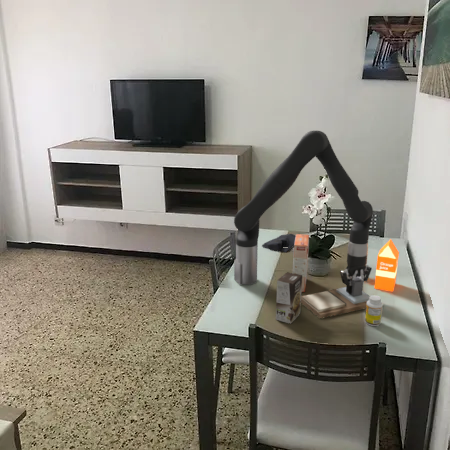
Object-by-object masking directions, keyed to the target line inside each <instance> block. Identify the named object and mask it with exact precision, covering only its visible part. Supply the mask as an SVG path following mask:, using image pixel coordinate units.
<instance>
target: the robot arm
mask: <svg viewBox="0 0 450 450" xmlns="http://www.w3.org/2000/svg"><path fill="white" fill-rule="evenodd" d="M314 158H316V159H317V160H318V161H319V162H320V164H321V165H322V167H323V168H324V170H325V172H326V174H327V176H328V179H329V181H330V183H331V185H332V187H333V189H334V190H335V192H336V193H337V195H338V196H339V198H340V199H341V201H342V203H343V205H344V208H345V211H346V213H347V214H348V217H349V218H350V219H351V220H352V221H353V224H352V226H351V227H350V231H349V239H348V240H349V241H348V245H347V253H346V254H347V255H346V256H347V257H346V264H347V266H346V268H345V269H344V270H340V271H339V274H340V278H341V282H342V284H344V285H347V287H346V286H345V287H346V291H347V293H349V294H352V284H353V281H354V280H355V277H357V278H359V279H360V280H362V281H363V284H364V283H365V282H367V281H368V280H369V277H370V275H371V272H372V270H373V269H372V267H371V266H369V265H367V263H368V255H369V254H368V253H369V235H370V233H369V232H370V227H371V224H372V219H373V214H374V209H373V206H372V204H371V203H370V202H369V201H366V200H361V199H360V197H359V189H358V187H357V186H356V185H355V182H354V181H353V180H352V178H351V177H350V175H349V174H348V172H347V171H346V169H345V168H344V167H343V165H342V164H341V162H340V161H339V158H338V157H337V155H336V153H335V151H334V149H333V146H332V144H331V142H330V140H329V138H328V136H327V134H326V133H325V132H324V131H321V130H310V131H307V132H306V133H305V134H304V135H303V136H302V137H301V138H300V140H299V142H298V143H297V144H296V146H295V147H294V148H293V150H292V151H291V153H290V154H289V155H288V156H287V157H286V158H285V159H284V160H283V161H282V162H281V163H280V164H279V165H278V166H277V167H276V168H275V169H274V170H273V172H272V173H270V174H269V176H268V177H267V178H266V179H265V180H264V182H263V183H262V185H261V186H260V187H259V189H258V190H257V192H256V193H255V195H254V196H253V197H252V199H250V201H249V202H248V203H247V204H246V205H244V206H243V207H241V208H240V209H239V210H238V211H237V212H236V214H235V215H234V219H233V220H234V221H233V224H234V226H235V228H236V229H237V234H236V238H235V259H234V261H233V264H234V270H233V271H234V272H233V273H234V275H233V276H234V278H233V280H234V281H235V282H236V283H237V284H239V285H243V286H245V285H247V286H248V285H254V284H256V283H257V282H258V241H259V236H260V219H261V217H262V216H263V215H264V214H265V212H267V210H269V208H271V207H272V206H273V205H275V203H276V202H278V201H279V200H280V199H281V198H282V197H283V196H284V195H285V194H286V193H287V192H288V191H289V190H290V188H291V187H292V186H293V185H294V183H295V182H296V180H297V179H298V177H299V176H300V174H301V173H302V171H303V169H304V168H305V167H306V166H307V164H309V163H310V162H311V161H312V160H313V159H314ZM347 273H348V275H347ZM349 281H350V282H349Z"/></svg>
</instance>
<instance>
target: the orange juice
mask: <svg viewBox="0 0 450 450" xmlns="http://www.w3.org/2000/svg"><path fill="white" fill-rule="evenodd" d="M399 254H400V251H399V250H398V249H397V247H396V245H395V244H394V242H393V240H392V239H391V238H390V239H389V240H388V241H387V242H386V243H385V244H384V245H383V246H382V247H381V248H380V249H379V251H378V254H377V260H376V268H375V269H376V270H375V279H374V289H376V290H381V291H387V292H394V289H395V286H396V280H397V272H398V264H399V263H398V262H399Z"/></svg>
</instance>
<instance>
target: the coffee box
mask: <svg viewBox="0 0 450 450" xmlns="http://www.w3.org/2000/svg"><path fill="white" fill-rule="evenodd" d="M301 290H302V275H299V274H294V273H293V272H289V271H286V272H285V273H284V274H283V275H281V277H279V278H278V279H277V281H276V301H275V302H276V305H275V320H277V321H278V322H279V321H280V322H283V323H285V324H289V323H290V324H292V323H293V322H294V321H295V320H296V319H297V318H298V317H299V316H300V315H301V311H302V310H301V307H302V304H301V296H302V292H301ZM299 314H300V315H299ZM290 324H289V325H290Z"/></svg>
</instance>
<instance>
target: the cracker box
mask: <svg viewBox="0 0 450 450" xmlns="http://www.w3.org/2000/svg"><path fill="white" fill-rule="evenodd" d="M295 235H296V237H295V243H294V246H293V257H292V258H293V259H292V273H294V274H299V275H302V290H301V293H305V292H306V284H307V277H308V276H307V275H308V266H309V265H308V263H309V249H310V247H309V246H310V235H309V234H300V233H299V234H298V233H296V234H295Z"/></svg>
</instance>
